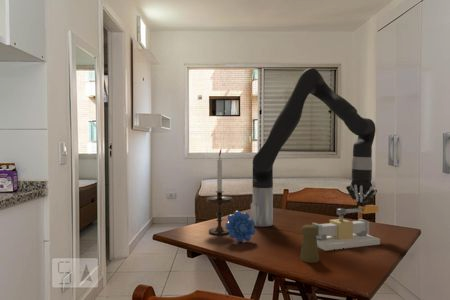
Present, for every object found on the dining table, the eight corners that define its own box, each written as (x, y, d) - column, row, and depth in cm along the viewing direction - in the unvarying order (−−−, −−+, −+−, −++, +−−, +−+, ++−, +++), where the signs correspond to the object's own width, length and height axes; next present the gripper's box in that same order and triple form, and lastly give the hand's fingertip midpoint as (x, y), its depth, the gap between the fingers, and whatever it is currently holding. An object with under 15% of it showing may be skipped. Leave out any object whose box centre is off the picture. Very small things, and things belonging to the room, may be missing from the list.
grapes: (228, 246, 126) (228, 213, 126) (224, 241, 132) (224, 210, 132) (259, 244, 129) (259, 212, 128) (253, 239, 135) (253, 208, 135)
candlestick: (227, 228, 152) (227, 148, 152) (236, 234, 142) (236, 148, 141) (203, 230, 149) (203, 148, 148) (210, 236, 139) (210, 148, 138)
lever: (334, 214, 133) (334, 208, 133) (371, 210, 140) (371, 204, 140) (340, 216, 130) (340, 209, 130) (378, 212, 137) (378, 205, 137)
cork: (297, 256, 115) (297, 223, 115) (315, 256, 116) (315, 223, 116) (303, 262, 109) (303, 227, 109) (322, 262, 110) (322, 227, 110)
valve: (324, 250, 121) (325, 221, 121) (303, 240, 135) (303, 213, 134) (380, 244, 129) (380, 216, 129) (354, 234, 143) (354, 209, 142)
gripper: (382, 169, 137) (381, 213, 137) (352, 166, 147) (351, 207, 148) (371, 170, 132) (370, 215, 133) (341, 167, 143) (340, 209, 144)
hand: (360, 211), depth 141 cm, fingers closed
